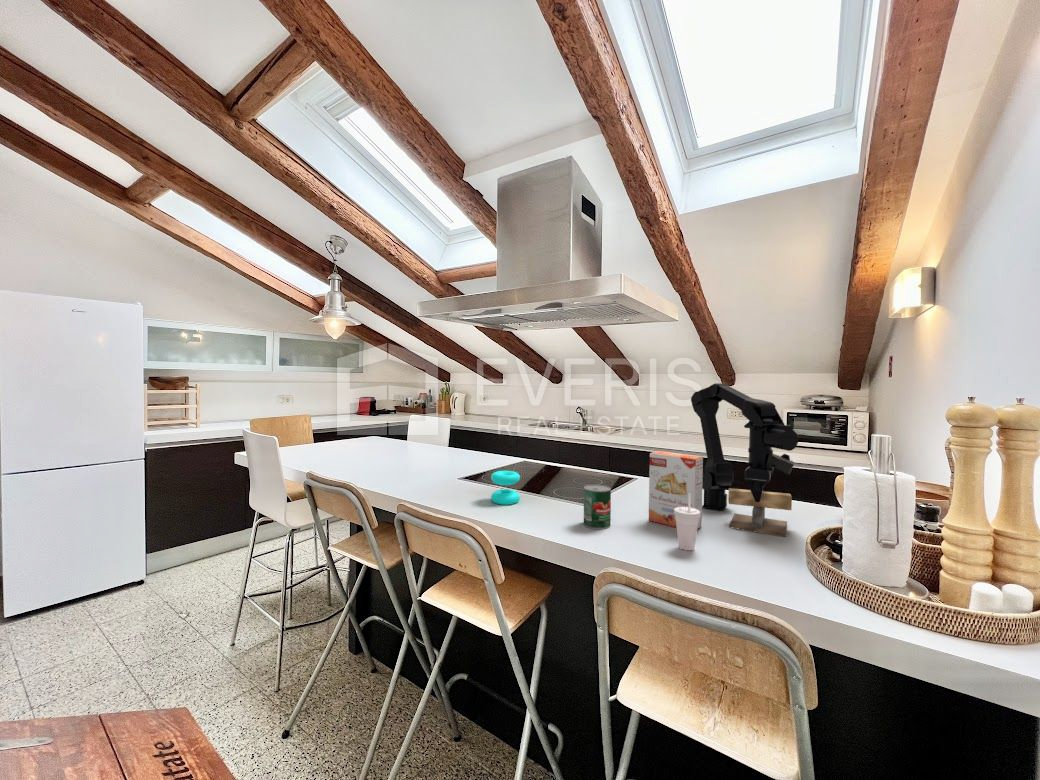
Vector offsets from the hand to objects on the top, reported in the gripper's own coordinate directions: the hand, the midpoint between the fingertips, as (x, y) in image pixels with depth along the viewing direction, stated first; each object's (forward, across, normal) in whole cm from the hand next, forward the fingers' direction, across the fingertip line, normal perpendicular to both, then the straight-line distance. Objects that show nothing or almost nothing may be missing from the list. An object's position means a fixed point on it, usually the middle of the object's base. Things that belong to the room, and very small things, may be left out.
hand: (758, 498), depth 130 cm
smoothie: (+8, -29, +14) cm, 33 cm away
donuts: (+8, -20, +76) cm, 79 cm away
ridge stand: (+8, 0, 0) cm, 8 cm away
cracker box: (+8, -12, +21) cm, 26 cm away
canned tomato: (+8, -25, +40) cm, 48 cm away
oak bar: (+2, 0, 0) cm, 2 cm away
